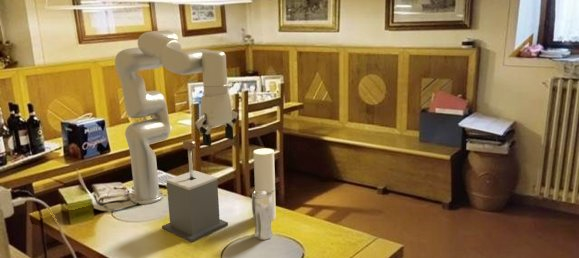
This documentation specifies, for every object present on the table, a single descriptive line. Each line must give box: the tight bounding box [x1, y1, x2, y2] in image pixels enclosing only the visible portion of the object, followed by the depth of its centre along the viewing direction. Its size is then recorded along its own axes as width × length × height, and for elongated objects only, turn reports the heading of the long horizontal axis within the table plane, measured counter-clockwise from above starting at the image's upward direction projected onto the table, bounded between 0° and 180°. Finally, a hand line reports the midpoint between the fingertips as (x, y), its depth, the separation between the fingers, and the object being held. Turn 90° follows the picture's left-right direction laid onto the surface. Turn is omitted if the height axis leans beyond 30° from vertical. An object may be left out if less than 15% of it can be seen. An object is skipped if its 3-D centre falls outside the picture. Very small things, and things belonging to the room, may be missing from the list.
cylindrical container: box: [253, 147, 277, 221], centre depth 169 cm, size 7×7×25 cm
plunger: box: [182, 139, 196, 180], centre depth 160 cm, size 9×9×17 cm
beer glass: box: [251, 190, 273, 241], centre depth 157 cm, size 7×7×15 cm
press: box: [161, 169, 229, 244], centre depth 164 cm, size 16×17×18 cm
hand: (218, 142), depth 156 cm, fingers open, 9 cm apart
